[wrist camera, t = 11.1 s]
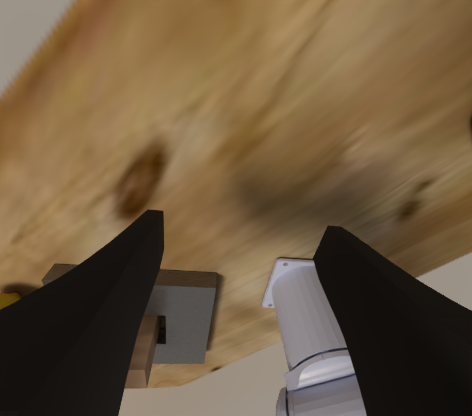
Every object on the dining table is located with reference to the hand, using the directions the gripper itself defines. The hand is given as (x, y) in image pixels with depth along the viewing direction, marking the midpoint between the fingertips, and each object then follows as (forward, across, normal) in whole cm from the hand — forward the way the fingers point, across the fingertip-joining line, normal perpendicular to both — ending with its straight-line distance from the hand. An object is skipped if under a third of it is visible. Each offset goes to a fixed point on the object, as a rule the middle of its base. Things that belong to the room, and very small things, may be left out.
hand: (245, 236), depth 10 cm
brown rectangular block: (+10, +8, +21) cm, 24 cm away
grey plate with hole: (+9, +8, +21) cm, 24 cm away
